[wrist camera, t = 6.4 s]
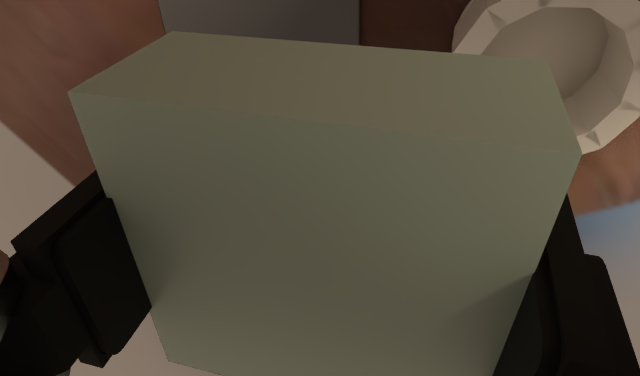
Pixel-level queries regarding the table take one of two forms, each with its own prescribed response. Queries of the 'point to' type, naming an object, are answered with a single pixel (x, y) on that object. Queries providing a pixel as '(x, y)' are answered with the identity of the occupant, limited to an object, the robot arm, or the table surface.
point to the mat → (267, 19)
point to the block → (330, 199)
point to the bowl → (568, 54)
